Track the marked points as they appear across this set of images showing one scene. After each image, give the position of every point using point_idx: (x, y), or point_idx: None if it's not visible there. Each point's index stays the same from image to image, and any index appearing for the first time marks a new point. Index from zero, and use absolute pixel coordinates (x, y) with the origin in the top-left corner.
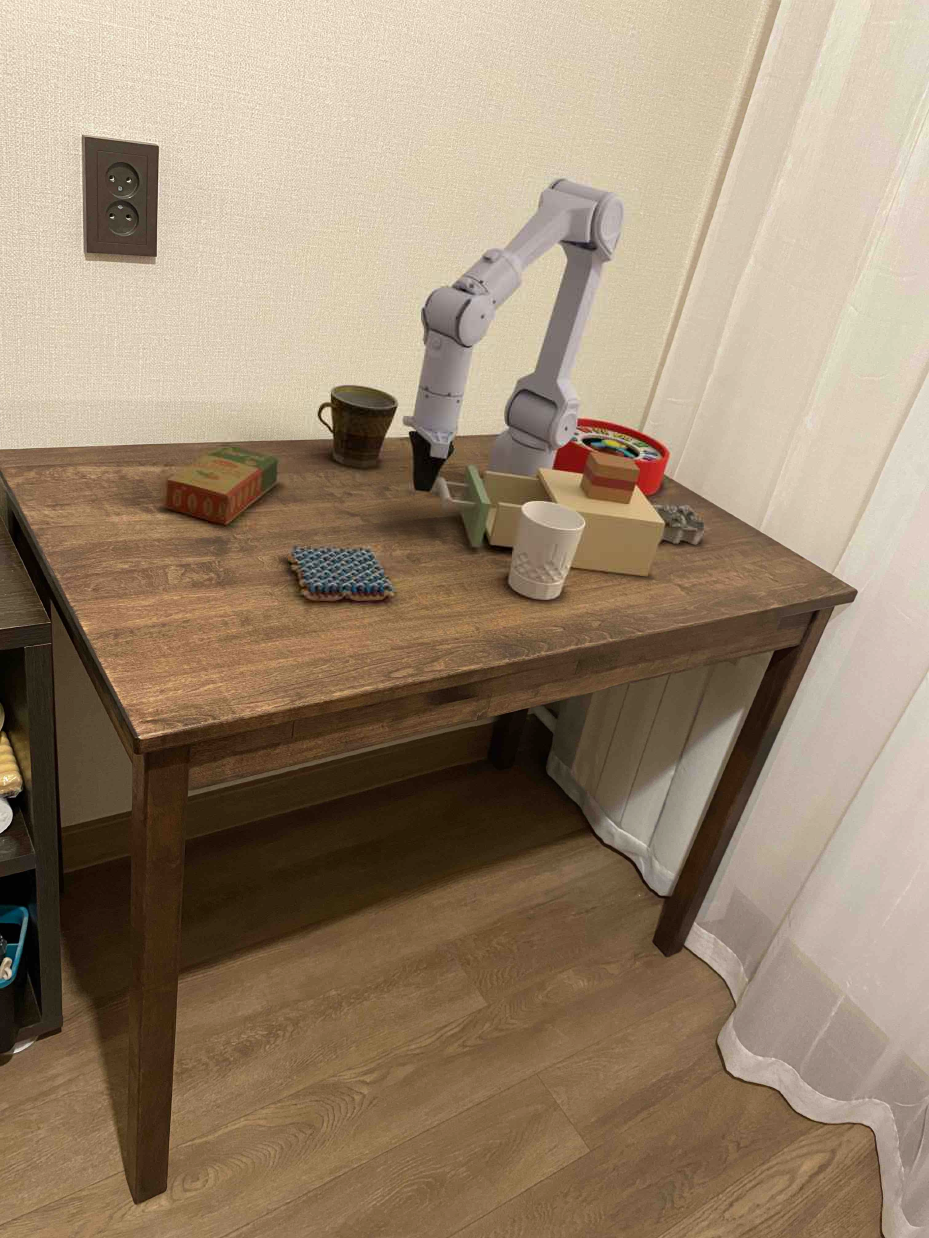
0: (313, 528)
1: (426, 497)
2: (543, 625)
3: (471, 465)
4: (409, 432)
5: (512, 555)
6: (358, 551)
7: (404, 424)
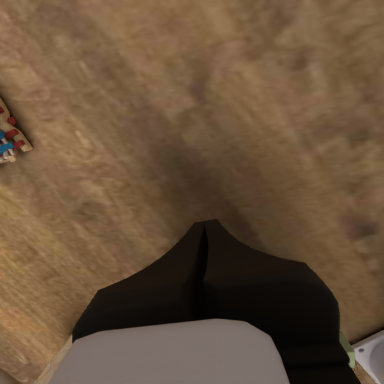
0: (96, 23)
1: (341, 214)
2: (20, 348)
3: (353, 360)
4: (283, 282)
5: None
6: (13, 129)
7: (75, 348)
